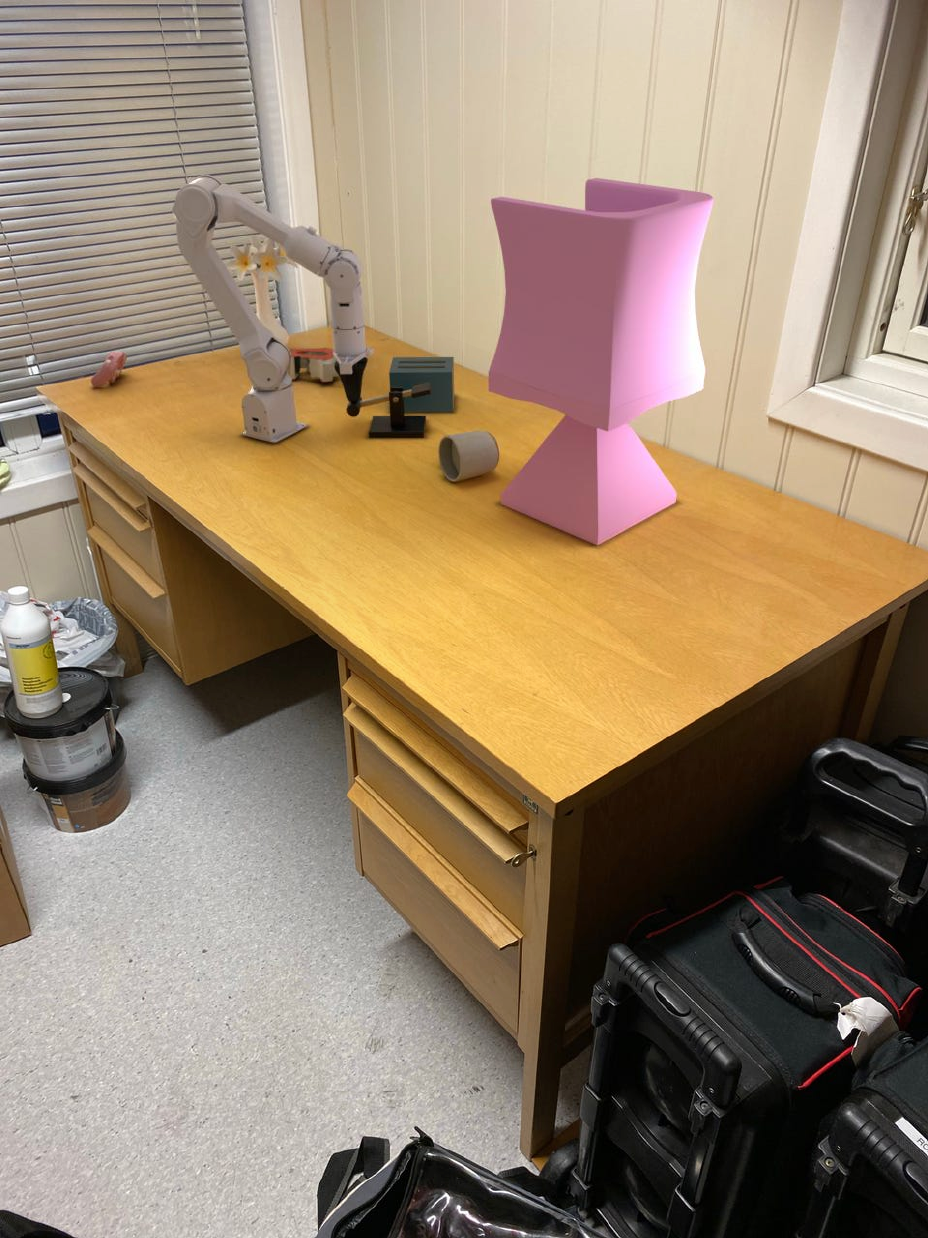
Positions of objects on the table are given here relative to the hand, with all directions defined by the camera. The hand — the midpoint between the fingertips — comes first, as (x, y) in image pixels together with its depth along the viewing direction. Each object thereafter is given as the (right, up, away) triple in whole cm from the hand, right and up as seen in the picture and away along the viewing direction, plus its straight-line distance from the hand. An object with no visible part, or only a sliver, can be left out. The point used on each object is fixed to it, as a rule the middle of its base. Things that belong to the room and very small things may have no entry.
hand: (354, 399), depth 174 cm
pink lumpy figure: (-55, +10, +28) cm, 62 cm away
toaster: (+12, +2, +14) cm, 18 cm away
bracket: (+8, -5, +3) cm, 10 cm away
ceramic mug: (+20, -16, -13) cm, 29 cm away
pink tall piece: (+40, -22, -23) cm, 51 cm away
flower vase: (-24, +19, +41) cm, 51 cm away
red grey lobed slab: (-9, +13, +30) cm, 34 cm away
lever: (+7, -1, 0) cm, 7 cm away
